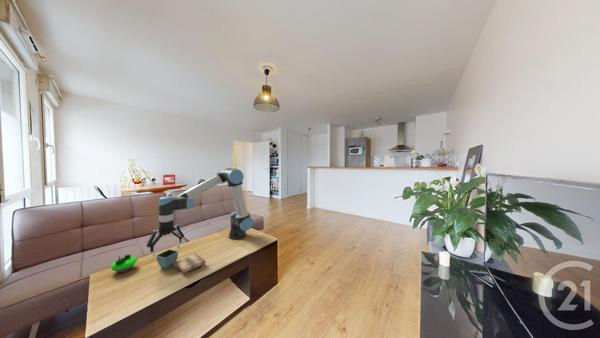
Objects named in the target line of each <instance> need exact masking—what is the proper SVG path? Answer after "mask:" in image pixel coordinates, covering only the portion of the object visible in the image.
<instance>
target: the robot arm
mask: <svg viewBox="0 0 600 338" xmlns="http://www.w3.org/2000/svg"><path fill="white" fill-rule="evenodd" d="M243 180H244V173H243V172H242V170H240V169H239V168H231V167H227V168H225V169H223V170H221V171H219V172H217V173H216V174H215V175H214V176H212V177H211V178H209V179H206V180H205V181H203V182H201V183H199V184H197V185H195V186H193V187H191V188H189V189H188V190H186V191H183V192H182V193H180V194H175V195H174V196H171V195H167V196H162V197H160V198H158V221H159V223H158V226H159V227H158V229H157V230H156V229H153V230H152V234H151V236H150V238H149V240H148V241H147V243H146V247H147V248H150V250H149V251H150V253H151V254H152V257H153V258H156V246H155V245H156V244H157V243H158V242H159V241H160V239H161V238H162V237H164V236H166V235H167V236H168V235H170V234H172V235H174V236H175V237H177V238H176V248H177V249H178V250H179V249H181V243H182V240H183V238H185V234H184V232H182V230H181V229H180V225H179V224H176V225H174V211H180V210H188V209H191V208H194V206H195V198H197V197H199V196H201V195H202V194H204V193H206V192H208V191H210V190H211V189H213V188H215V187H217V186H219V185H222V184H224V183H227V186H228V187H229V188H230V191H231V195H232V199H233V203H234V208H235V210H236V211H231V212H230V217H229V218H230V230H229V233H228V238H229V239H231V240H240V239H243V238H245V237H246V236H247V233H246V231H249V230H250V229H252V228H253V226H254V219H253V217H251V214H250V211H248V209H247V204H246V199H245V195H244V190H243V184H244V182H243ZM174 229H176V231H177V232H178V233H179V234H178V233H176V232H175V231H174ZM156 235H157V236H156Z"/></svg>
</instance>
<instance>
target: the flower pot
mask: <svg viewBox="0 0 600 338" xmlns="http://www.w3.org/2000/svg"><path fill="white" fill-rule="evenodd" d="M178 256H179V251H178V250H174V249H170V248H169V249H167V250H165V251H163V252H160V253H159V254H155V258H156V260H157V264H158V266H159V267H160V268H162V269H165V270H168V269H170V268H171V267H173V266H174V265H175V262H177V261H178Z"/></svg>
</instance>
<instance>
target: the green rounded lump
mask: <svg viewBox="0 0 600 338" xmlns="http://www.w3.org/2000/svg"><path fill="white" fill-rule="evenodd" d="M137 261H138V257H135V256H131V254H125V255H124V257H121V258H120V256H119V255H118V259H117V260H116V261H114V262H113V263H112V264H111V266H110V269H111V270H112V271H115V272H116V273H117V272H118V273H125V272H127V271H129V270H130V269H132V268H133V267H134V265H136V263H137Z"/></svg>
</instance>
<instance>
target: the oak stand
mask: <svg viewBox="0 0 600 338" xmlns="http://www.w3.org/2000/svg"><path fill="white" fill-rule="evenodd" d="M174 265H175V268H176V270H179V271H181V272H182V275H183V276H186V275H188V273H189V272H190V271H191V270H194V269H195V268H197V267H200V266H201V268H204V267H205V265H206V260H205V259H204V258H203V257H202V256H201V255H199V254H198V253H195V254H192V255H190V256H188V257H185V258H182V259H180V260H177V261H176V262H175V264H174ZM203 266H204V267H203ZM188 271H189V272H188Z"/></svg>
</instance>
